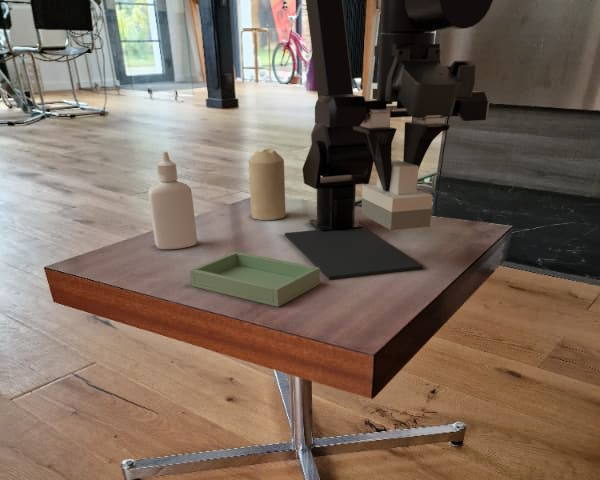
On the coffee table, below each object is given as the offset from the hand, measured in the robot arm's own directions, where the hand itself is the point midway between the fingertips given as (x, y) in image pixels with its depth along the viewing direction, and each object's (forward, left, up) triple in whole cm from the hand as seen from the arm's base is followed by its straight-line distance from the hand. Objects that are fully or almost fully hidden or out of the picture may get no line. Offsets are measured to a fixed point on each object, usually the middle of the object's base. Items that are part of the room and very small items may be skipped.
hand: (396, 189), depth 67 cm
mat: (-6, -4, -8) cm, 11 cm away
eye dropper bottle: (-16, -25, -9) cm, 31 cm away
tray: (+3, -18, -8) cm, 20 cm away
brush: (0, 0, -4) cm, 4 cm away
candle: (-28, -9, -9) cm, 30 cm away
